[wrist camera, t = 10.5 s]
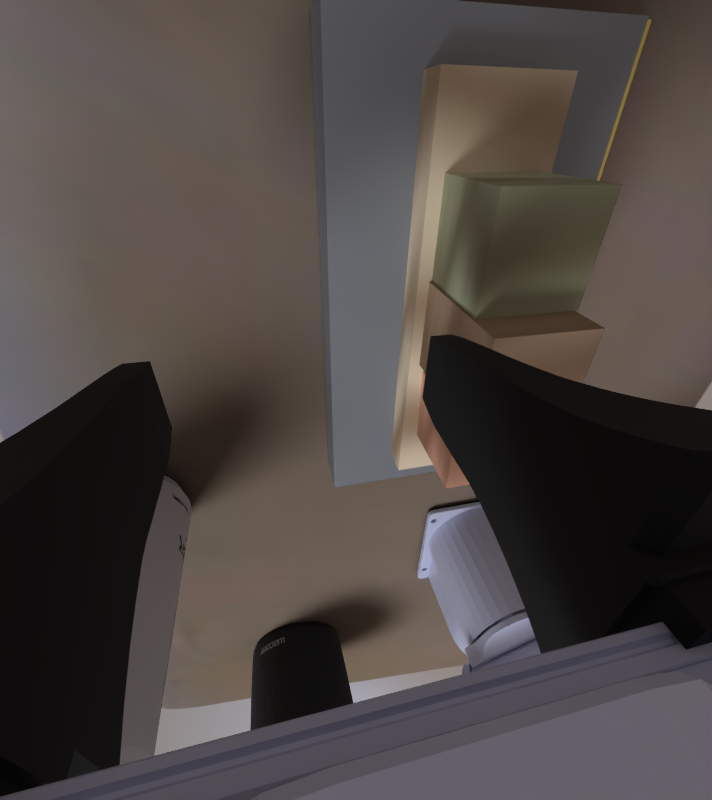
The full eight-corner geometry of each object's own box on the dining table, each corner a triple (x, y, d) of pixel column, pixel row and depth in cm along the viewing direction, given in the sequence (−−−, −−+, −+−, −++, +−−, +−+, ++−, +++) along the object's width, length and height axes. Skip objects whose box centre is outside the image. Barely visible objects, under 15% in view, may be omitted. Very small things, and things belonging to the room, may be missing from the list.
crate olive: (516, 276, 17) (577, 310, 14) (431, 282, 16) (475, 319, 13) (542, 171, 15) (621, 184, 12) (445, 173, 14) (501, 186, 11)
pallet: (466, 441, 25) (529, 534, 19) (391, 453, 24) (434, 553, 18) (551, 75, 14) (739, 43, 9) (424, 69, 14) (545, 30, 8)
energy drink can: (161, 539, 27) (93, 861, 15) (68, 510, 24) (-111, 889, 12) (211, 487, 26) (178, 804, 14) (118, 448, 22) (-33, 817, 10)
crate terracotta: (484, 423, 22) (523, 474, 19) (416, 434, 21) (446, 488, 18) (497, 361, 20) (545, 407, 17) (422, 371, 19) (457, 421, 16)
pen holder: (345, 611, 39) (370, 737, 31) (337, 655, 44) (356, 773, 36) (247, 627, 36) (246, 768, 28) (250, 672, 42) (251, 802, 34)
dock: (496, 435, 29) (515, 458, 27) (328, 460, 27) (334, 487, 25) (612, 30, 16) (662, 16, 14) (310, 9, 14) (320, -11, 12)
